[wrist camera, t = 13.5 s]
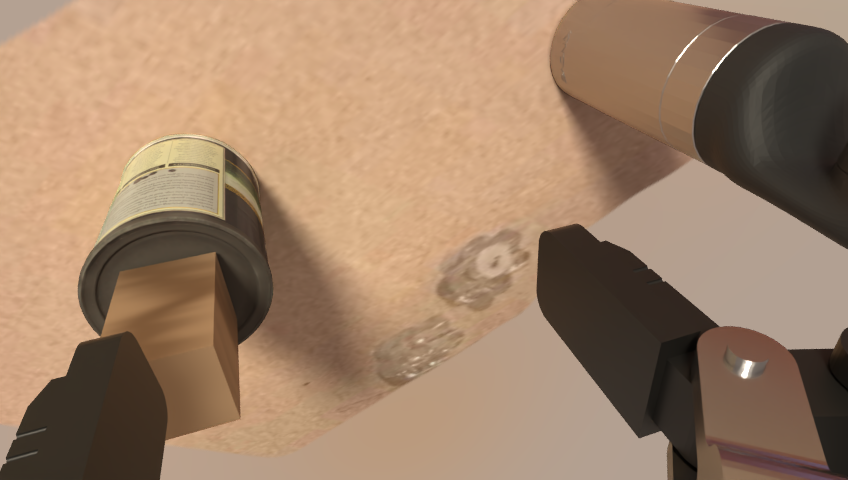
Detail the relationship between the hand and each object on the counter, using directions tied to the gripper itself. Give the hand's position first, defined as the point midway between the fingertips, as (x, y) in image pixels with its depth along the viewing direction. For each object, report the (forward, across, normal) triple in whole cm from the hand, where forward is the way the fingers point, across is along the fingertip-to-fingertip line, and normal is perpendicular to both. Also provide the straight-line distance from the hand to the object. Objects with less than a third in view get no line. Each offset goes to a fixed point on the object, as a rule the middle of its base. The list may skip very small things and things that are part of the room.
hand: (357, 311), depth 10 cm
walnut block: (+19, +8, +11) cm, 24 cm away
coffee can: (+33, +9, +11) cm, 36 cm away
